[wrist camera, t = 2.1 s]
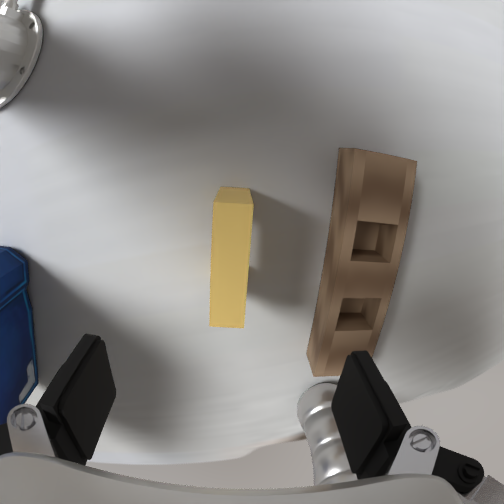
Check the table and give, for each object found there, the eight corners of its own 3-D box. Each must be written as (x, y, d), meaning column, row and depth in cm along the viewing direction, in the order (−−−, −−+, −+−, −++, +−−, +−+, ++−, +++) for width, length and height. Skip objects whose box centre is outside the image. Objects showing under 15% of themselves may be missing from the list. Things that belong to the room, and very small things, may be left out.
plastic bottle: (353, 381, 35) (408, 513, 16) (324, 414, 37) (360, 539, 18) (312, 370, 34) (357, 522, 15) (284, 406, 35) (308, 545, 17)
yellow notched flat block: (220, 186, 26) (213, 202, 19) (249, 188, 26) (253, 204, 19) (216, 280, 29) (209, 326, 22) (242, 282, 29) (243, 328, 22)
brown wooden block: (339, 148, 26) (355, 148, 22) (395, 158, 26) (417, 161, 22) (306, 353, 33) (313, 376, 29) (354, 352, 33) (365, 373, 29)
